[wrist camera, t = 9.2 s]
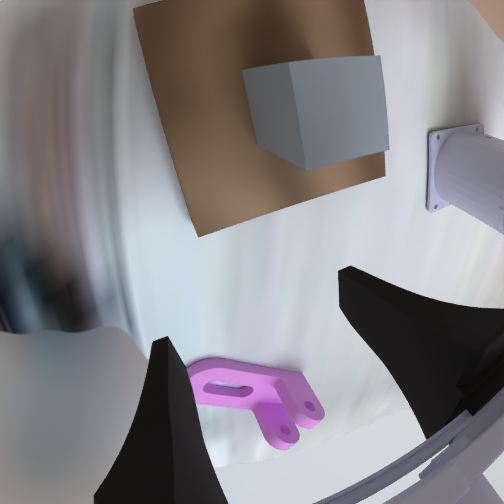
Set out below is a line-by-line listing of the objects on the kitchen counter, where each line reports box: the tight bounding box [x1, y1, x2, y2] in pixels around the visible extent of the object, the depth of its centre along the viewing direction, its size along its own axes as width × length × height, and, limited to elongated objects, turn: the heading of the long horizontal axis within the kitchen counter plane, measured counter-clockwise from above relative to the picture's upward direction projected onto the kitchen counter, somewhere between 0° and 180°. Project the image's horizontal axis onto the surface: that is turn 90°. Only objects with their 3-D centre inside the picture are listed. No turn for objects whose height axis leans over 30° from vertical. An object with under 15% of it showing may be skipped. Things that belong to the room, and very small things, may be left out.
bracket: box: [187, 358, 325, 450], centre depth 28 cm, size 13×6×7 cm, turn 56°
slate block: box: [242, 56, 389, 171], centre depth 14 cm, size 4×4×6 cm
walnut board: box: [133, 0, 385, 237], centre depth 17 cm, size 14×14×2 cm
